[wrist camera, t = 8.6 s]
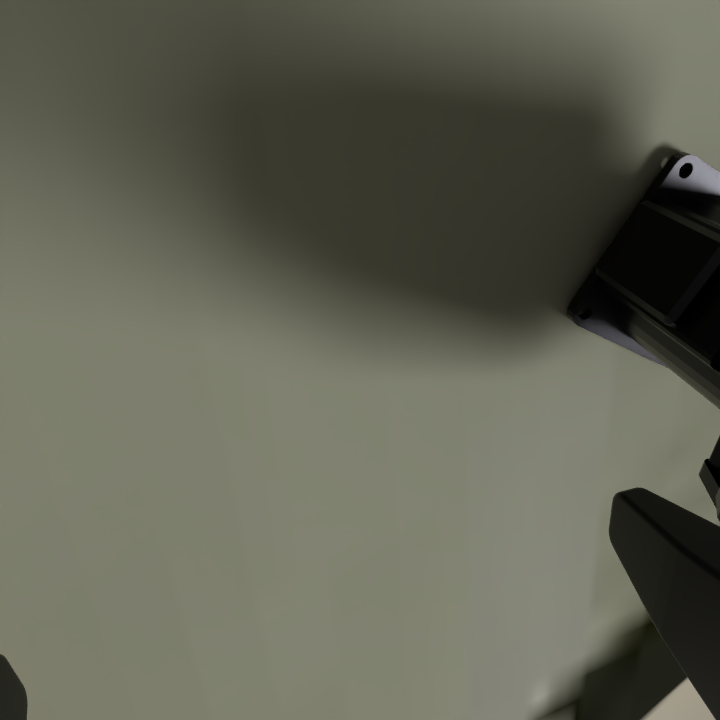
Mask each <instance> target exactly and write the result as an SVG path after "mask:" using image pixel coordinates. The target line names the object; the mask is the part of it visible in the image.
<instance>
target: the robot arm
mask: <svg viewBox="0 0 720 720" xmlns="http://www.w3.org/2000/svg"><path fill="white" fill-rule="evenodd" d="M683 164H685V168H684V170H683V172H682V173H681V174H679V170H680V168H681V166H682V165H683ZM584 307H586V310H585V311H584V312H583V313H582V314H580V315H579V313H580V311H581V310H582V309H583V308H584ZM567 315H568V317H569V318H570V319H571V320H572V321H573V322H574V323H576V324H577V325H578V326H580V327H583V328H585V329H587V330H589V331H591V332H593V333H595V334H597V335H599V336H602V337H604V338H606V339H608V340H610V341H612V342H614V343H616V344H619V345H621V346H623V347H625V348H627V349H629V350H631V351H633V352H635V353H638V354H640V355H642V356H644V357H646V358H648V359H650V360H652V361H655V362H657V363H659V364H661V365H663V366H665V367H667V368H669V369H670V370H672V371H673V372H674V373H675V374H677V375H678V376H679V377H680V378H682V379H683V380H684V381H685V382H687V383H688V384H689V385H690V386H692V387H693V388H694V389H695V390H697V391H698V392H699V393H700V394H702V395H703V396H704V397H705V398H707V399H708V400H709V401H710V402H712V403H713V404H714V405H715V406H716V407H718V408H719V409H720V173H719V172H718V171H716V170H715V169H713V168H712V167H710V166H709V165H708V164H706V163H705V162H703V161H702V160H700V159H699V158H698V157H696V156H693V155H690V154H688V153H685V152H680V153H677V154H675V155H673V156H672V157H671V158H670V159H669V160H668V162H667V163H666V165H665V166H664V168H663V169H662V170H661V172H660V173H659V175H658V176H657V178H656V179H655V181H654V182H653V184H652V185H651V186H650V188H649V189H648V191H647V192H646V194H645V195H644V197H643V198H642V199H641V201H640V202H639V204H638V205H637V207H636V208H635V210H634V211H633V213H632V214H631V215H630V217H629V218H628V220H627V221H626V223H625V224H624V226H623V227H622V228H621V230H620V231H619V233H618V234H617V236H616V237H615V239H614V240H613V242H612V243H611V244H610V246H609V247H608V249H607V250H606V252H605V253H604V255H603V256H602V257H601V259H600V260H599V262H598V263H597V265H596V266H595V268H594V269H593V271H592V272H591V273H590V275H589V276H588V278H587V279H586V281H585V282H584V284H583V285H582V286H581V288H580V289H579V291H578V292H577V294H576V295H575V297H574V298H573V300H572V301H571V302H570V304H569V306H568V308H567ZM699 476H700V478H701V480H702V482H703V484H704V486H705V488H706V490H707V492H708V493H709V495H710V497H711V499H712V501H713V503H714V505H715V507H716V509H717V518H718V519H719V521H720V436H719V438H718V440H717V443H716V445H715V447H714V449H713V452H712V454H711V456H710V458H709V459H706V460H705V461H704V463H703V466H702V468H701V470H700V472H699ZM609 536H610V540H611V543H612V546H613V548H614V550H615V551H616V553H617V555H618V557H619V559H620V561H621V563H622V565H623V567H624V569H625V570H626V572H627V574H628V576H629V578H630V580H631V582H632V584H633V586H634V587H635V589H636V591H637V593H638V595H639V597H640V599H641V601H642V603H643V605H644V606H645V608H646V610H647V612H648V614H649V616H650V618H651V620H652V622H653V623H654V625H655V627H656V629H657V630H658V632H659V634H660V636H661V637H662V639H663V640H664V642H665V644H666V645H667V647H668V648H669V650H670V651H671V653H672V654H673V656H674V657H675V659H676V660H677V662H678V663H679V665H680V666H681V668H682V669H683V671H684V672H685V674H686V675H687V677H688V678H689V680H690V681H691V683H692V684H693V686H694V688H695V689H696V691H697V692H698V694H699V695H700V696H701V698H702V700H703V701H704V702H705V704H706V705H707V707H708V708H709V710H710V712H711V713H712V715H713V716H714V718H715V719H716V720H720V527H719V526H717V525H715V524H713V523H712V522H710V521H708V520H706V519H704V518H702V517H700V516H698V515H696V514H694V513H692V512H690V511H688V510H686V509H684V508H682V507H680V506H678V505H676V504H674V503H672V502H670V501H668V500H666V499H664V498H662V497H660V496H658V495H656V494H654V493H652V492H650V491H648V490H646V489H644V488H633V489H629V490H625V491H621V492H618V493H616V494H615V496H614V497H613V502H612V509H611V517H610V525H609ZM0 720H27V695H26V691H25V688H24V686H23V684H22V683H21V681H20V679H19V678H18V676H17V675H16V673H15V672H14V670H13V668H12V667H11V665H10V664H9V662H8V661H7V659H6V658H5V657H4V656H3V655H1V654H0Z"/></svg>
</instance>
